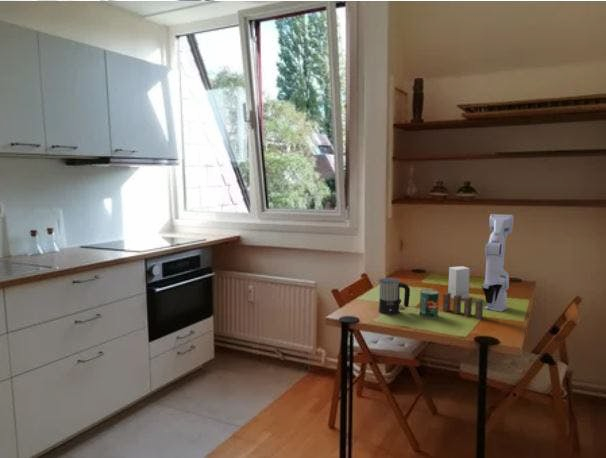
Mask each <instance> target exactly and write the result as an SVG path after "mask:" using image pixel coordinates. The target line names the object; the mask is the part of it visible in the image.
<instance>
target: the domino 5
mask: <svg viewBox="0 0 606 458" xmlns="http://www.w3.org/2000/svg"><path fill="white" fill-rule="evenodd" d="M495 294H496V291H495V293H494V296H493V301H492V303H488V304H486V306H487V308H489V309H488V310H490V309H492V308H494V307H495Z"/></svg>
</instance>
